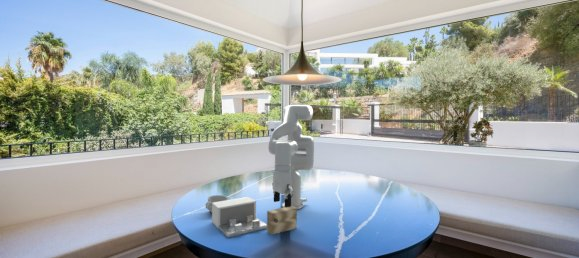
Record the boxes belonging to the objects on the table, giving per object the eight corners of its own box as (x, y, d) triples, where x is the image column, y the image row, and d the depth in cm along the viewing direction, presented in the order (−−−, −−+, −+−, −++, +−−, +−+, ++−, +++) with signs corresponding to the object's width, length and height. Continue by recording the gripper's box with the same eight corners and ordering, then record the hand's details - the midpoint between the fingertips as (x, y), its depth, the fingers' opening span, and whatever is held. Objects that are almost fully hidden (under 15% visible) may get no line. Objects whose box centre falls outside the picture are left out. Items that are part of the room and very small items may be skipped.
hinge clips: (255, 220, 147) (255, 211, 146) (267, 228, 137) (267, 218, 136) (218, 228, 136) (218, 219, 135) (227, 237, 126) (227, 227, 125)
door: (291, 225, 140) (292, 205, 140) (297, 229, 136) (298, 208, 136) (267, 231, 133) (267, 210, 132) (272, 236, 128) (272, 214, 128)
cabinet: (248, 214, 154) (248, 196, 154) (255, 220, 147) (256, 201, 146) (212, 222, 143) (212, 202, 142) (218, 228, 136) (218, 207, 135)
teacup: (219, 207, 166) (219, 193, 165) (231, 211, 159) (231, 197, 158) (198, 213, 155) (198, 199, 154) (210, 218, 148) (210, 203, 148)
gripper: (266, 165, 138) (266, 200, 139) (286, 171, 124) (285, 210, 124) (279, 164, 142) (279, 198, 143) (300, 170, 128) (299, 207, 128)
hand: (282, 204), depth 133 cm, fingers open, 9 cm apart
